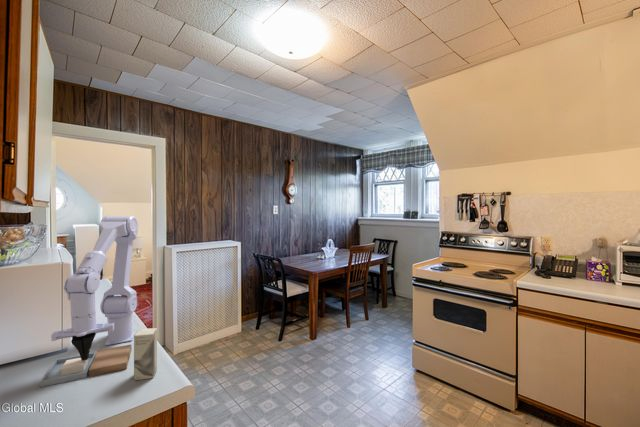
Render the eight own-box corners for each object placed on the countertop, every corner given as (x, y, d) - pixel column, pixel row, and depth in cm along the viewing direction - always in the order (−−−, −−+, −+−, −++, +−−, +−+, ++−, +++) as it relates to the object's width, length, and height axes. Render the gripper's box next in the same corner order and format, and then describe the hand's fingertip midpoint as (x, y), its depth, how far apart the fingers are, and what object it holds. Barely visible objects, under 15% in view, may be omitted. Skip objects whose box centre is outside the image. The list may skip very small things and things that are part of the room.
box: (133, 381, 83) (132, 335, 82) (138, 372, 87) (137, 329, 86) (154, 378, 84) (153, 333, 83) (158, 369, 88) (157, 327, 88)
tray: (55, 364, 91) (55, 359, 91) (96, 356, 95) (96, 352, 95) (40, 387, 80) (40, 381, 80) (86, 377, 84) (86, 372, 84)
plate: (98, 356, 95) (98, 350, 95) (131, 350, 99) (131, 344, 99) (88, 376, 85) (88, 370, 84) (126, 369, 89) (126, 362, 88)
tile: (66, 366, 89) (66, 360, 89) (87, 362, 91) (87, 356, 91) (61, 375, 85) (61, 368, 84) (83, 371, 87) (83, 364, 87)
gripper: (46, 323, 81) (48, 371, 82) (110, 314, 88) (112, 359, 88) (55, 314, 88) (57, 359, 88) (114, 306, 94) (116, 348, 95)
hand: (85, 358), depth 89 cm, fingers closed
